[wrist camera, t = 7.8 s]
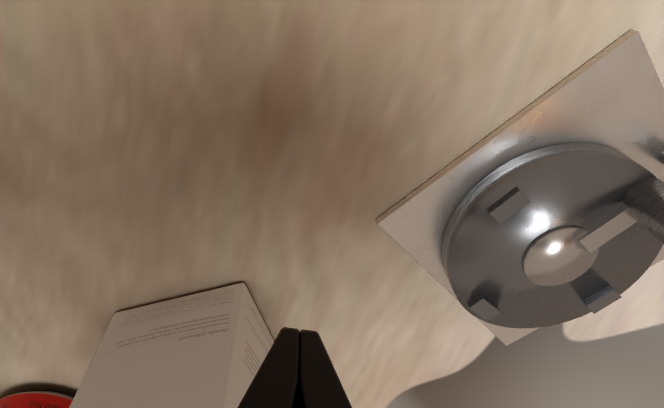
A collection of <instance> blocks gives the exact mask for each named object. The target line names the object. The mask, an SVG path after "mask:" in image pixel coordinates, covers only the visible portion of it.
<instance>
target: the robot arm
mask: <svg viewBox="0 0 664 408" xmlns="http://www.w3.org/2000/svg"><path fill="white" fill-rule="evenodd" d="M237 408H352V407H351V405H350V402H349V400H348V398H347V396H346V393H345V391H344V389H343V387H342V385H341V382H340V380H339V378H338V376H337V373H336V371H335V369H334V367H333V365H332V362H331V360H330V358H329V356H328V353H327V351H326V349H325V347H324V345H323V342H322V340H321V338H320V336H319V334H318V333H317V332H316V331H310V330H301V331H300V332H299V330H298V329H295V328H287V327H284V328H282V329H281V330H280V332H279V334H278V336H277V338H276V339H275V341H274V343H273V345H272V347H271V348H270V350H269V352H268V354H267V355H266V357H265V359H264V361H263V363H262V364H261V366H260V368H259V370H258V372H257V373H256V375H255V377H254V379H253V380H252V382H251V384H250V386H249V388H248V389H247V391H246V393H245V395H244V397H243V398H242V400H241V402H240V404H239V405H238V407H237Z"/></svg>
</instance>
